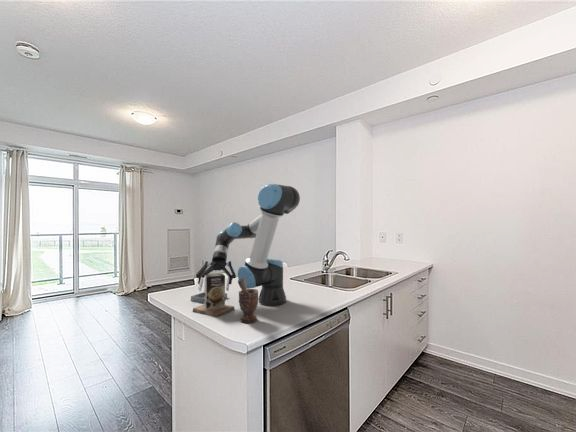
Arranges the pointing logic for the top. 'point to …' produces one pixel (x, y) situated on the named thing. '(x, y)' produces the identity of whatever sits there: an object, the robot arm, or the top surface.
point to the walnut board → (213, 312)
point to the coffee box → (214, 291)
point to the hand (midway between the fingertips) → (213, 289)
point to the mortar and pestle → (247, 302)
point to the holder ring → (200, 297)
